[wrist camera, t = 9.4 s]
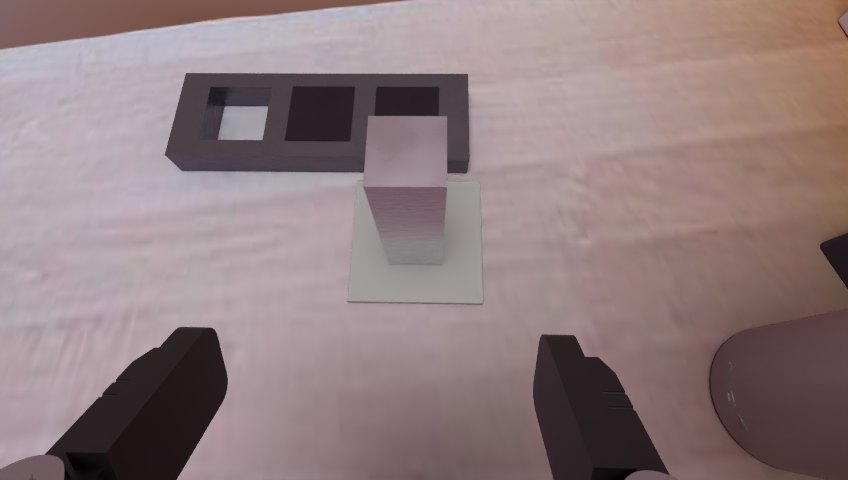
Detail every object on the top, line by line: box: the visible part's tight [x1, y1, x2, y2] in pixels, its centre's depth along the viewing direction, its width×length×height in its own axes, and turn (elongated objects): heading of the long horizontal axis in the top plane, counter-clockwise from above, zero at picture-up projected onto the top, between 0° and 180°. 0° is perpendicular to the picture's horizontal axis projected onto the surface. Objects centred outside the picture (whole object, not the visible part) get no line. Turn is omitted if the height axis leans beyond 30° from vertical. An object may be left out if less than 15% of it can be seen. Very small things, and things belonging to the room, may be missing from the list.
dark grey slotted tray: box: [165, 73, 469, 173], centre depth 36 cm, size 24×8×3 cm, turn 89°
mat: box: [347, 181, 483, 304], centre depth 34 cm, size 10×10×1 cm
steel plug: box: [363, 116, 447, 266], centre depth 27 cm, size 4×4×13 cm
